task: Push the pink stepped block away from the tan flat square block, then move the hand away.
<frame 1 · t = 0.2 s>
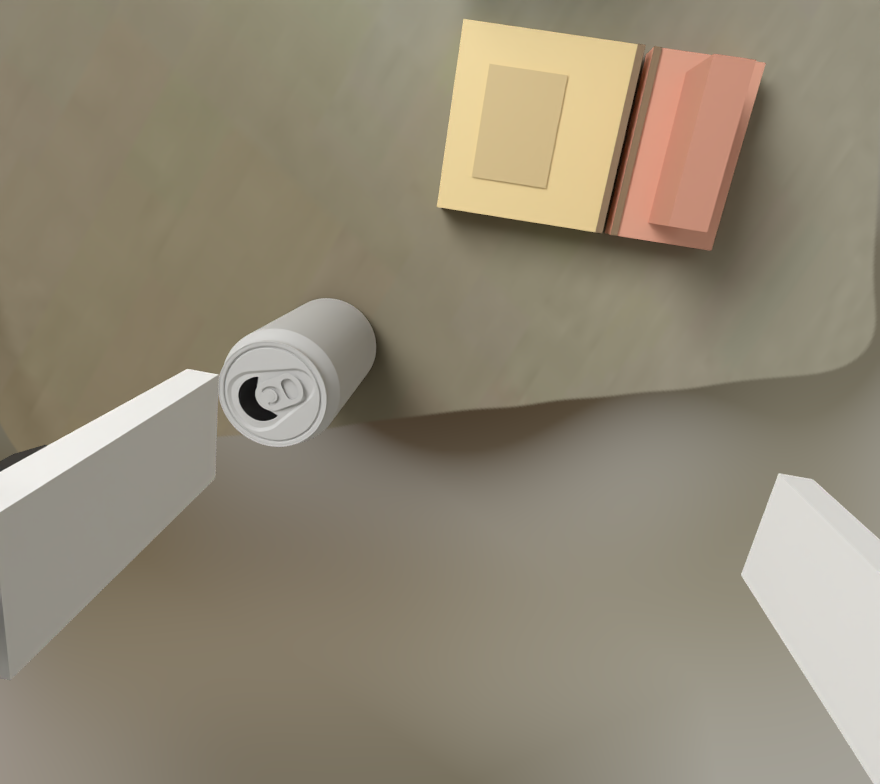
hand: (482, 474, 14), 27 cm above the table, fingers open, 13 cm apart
beverage can: (334, 341, 42), on the table
pink stepped block: (690, 151, 33), point 3 cm above the table, slide at 0.0 cm
tan flat square block: (533, 133, 36), on the table
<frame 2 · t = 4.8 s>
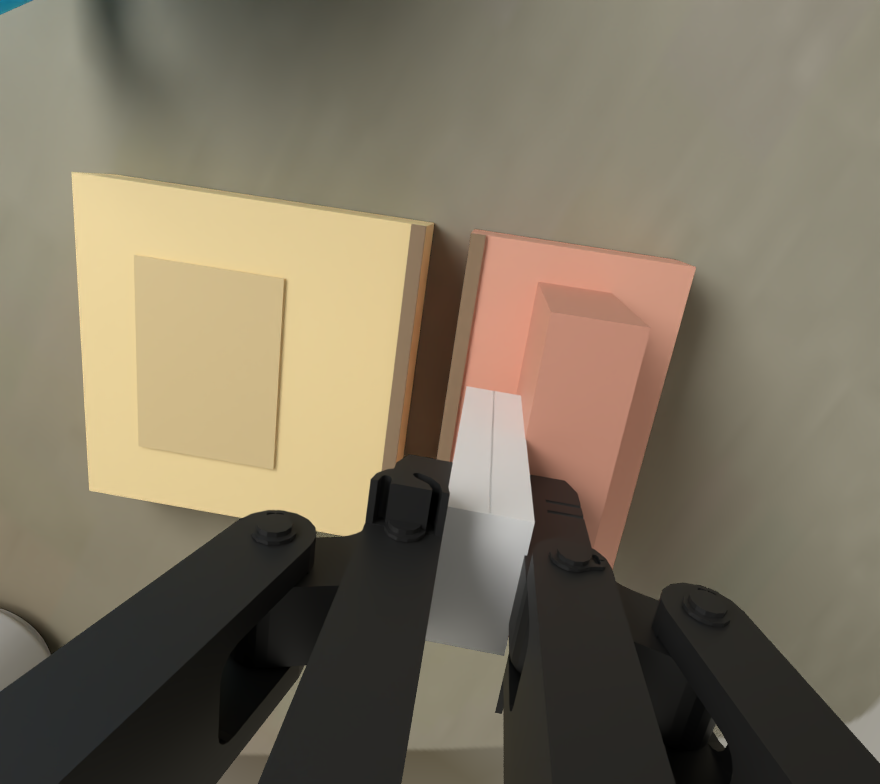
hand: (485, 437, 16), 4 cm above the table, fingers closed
pink stepped block: (549, 439, 16), point 3 cm above the table, slide at 0.7 cm, touching gripper
tan flat square block: (265, 355, 20), on the table
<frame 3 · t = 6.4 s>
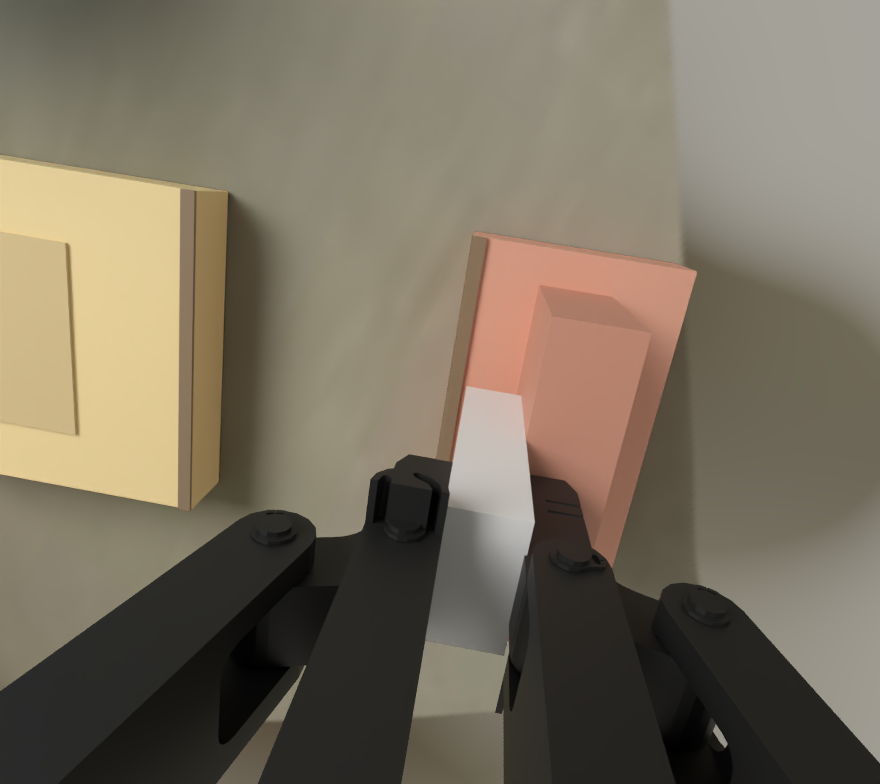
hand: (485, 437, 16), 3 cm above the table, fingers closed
pink stepped block: (548, 442, 16), point 3 cm above the table, slide at 7.1 cm, touching gripper
tan flat square block: (78, 323, 20), on the table
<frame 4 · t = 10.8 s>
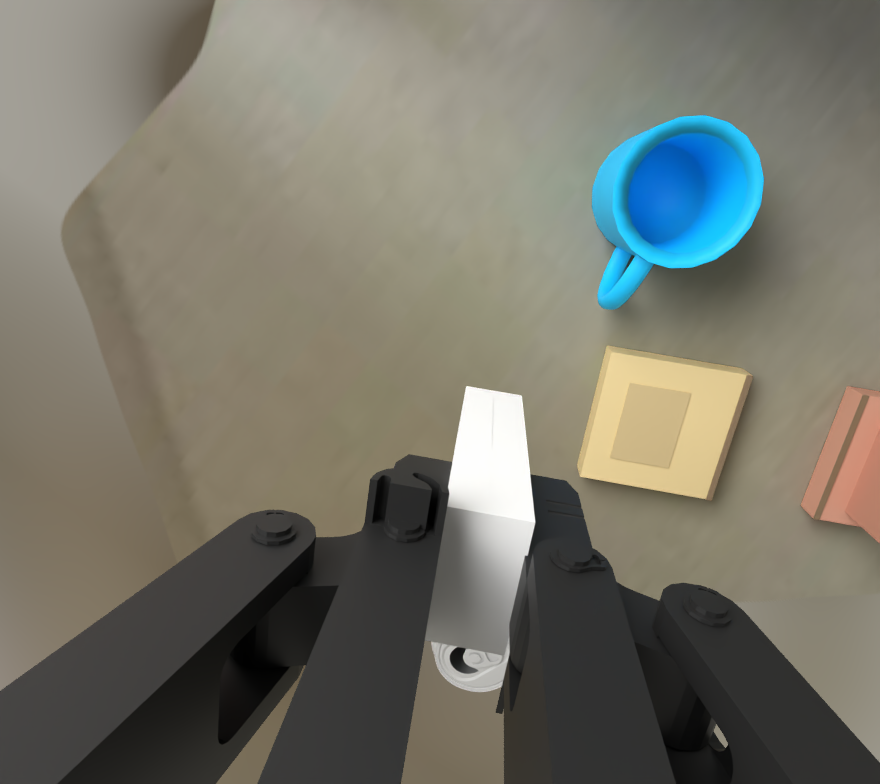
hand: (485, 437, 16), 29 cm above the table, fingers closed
mug: (636, 221, 42), on the table
beverage can: (481, 556, 52), on the table
tan flat square block: (656, 418, 46), on the table
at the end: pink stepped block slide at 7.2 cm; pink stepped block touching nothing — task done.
